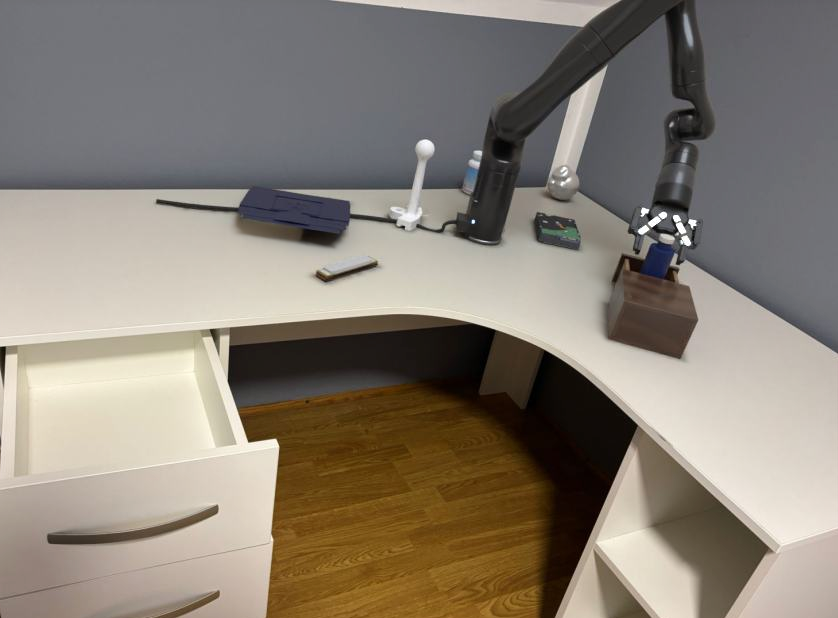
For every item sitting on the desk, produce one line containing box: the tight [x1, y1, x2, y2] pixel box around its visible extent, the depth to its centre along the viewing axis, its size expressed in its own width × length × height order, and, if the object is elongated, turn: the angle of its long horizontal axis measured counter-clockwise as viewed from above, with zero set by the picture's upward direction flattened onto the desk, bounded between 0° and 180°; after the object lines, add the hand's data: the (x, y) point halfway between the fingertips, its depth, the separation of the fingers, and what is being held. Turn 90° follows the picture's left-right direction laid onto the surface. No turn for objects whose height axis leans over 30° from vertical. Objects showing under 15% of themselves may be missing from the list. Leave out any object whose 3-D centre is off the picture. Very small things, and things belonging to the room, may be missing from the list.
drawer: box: [611, 252, 681, 287], centre depth 150 cm, size 18×12×7 cm
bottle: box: [639, 233, 676, 279], centre depth 146 cm, size 5×5×14 cm
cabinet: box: [607, 269, 699, 360], centre depth 138 cm, size 16×14×9 cm
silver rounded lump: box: [546, 164, 580, 201], centre depth 201 cm, size 9×10×10 cm
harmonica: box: [315, 254, 379, 282], centre depth 140 cm, size 15×3×2 cm, turn 137°
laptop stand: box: [237, 185, 351, 235], centre depth 159 cm, size 24×30×4 cm
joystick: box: [388, 139, 436, 232], centre depth 164 cm, size 11×8×20 cm
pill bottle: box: [461, 150, 482, 195], centre depth 193 cm, size 6×6×11 cm
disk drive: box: [533, 211, 582, 250], centre depth 177 cm, size 10×3×15 cm
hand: (658, 258), depth 145 cm, fingers open, 8 cm apart
